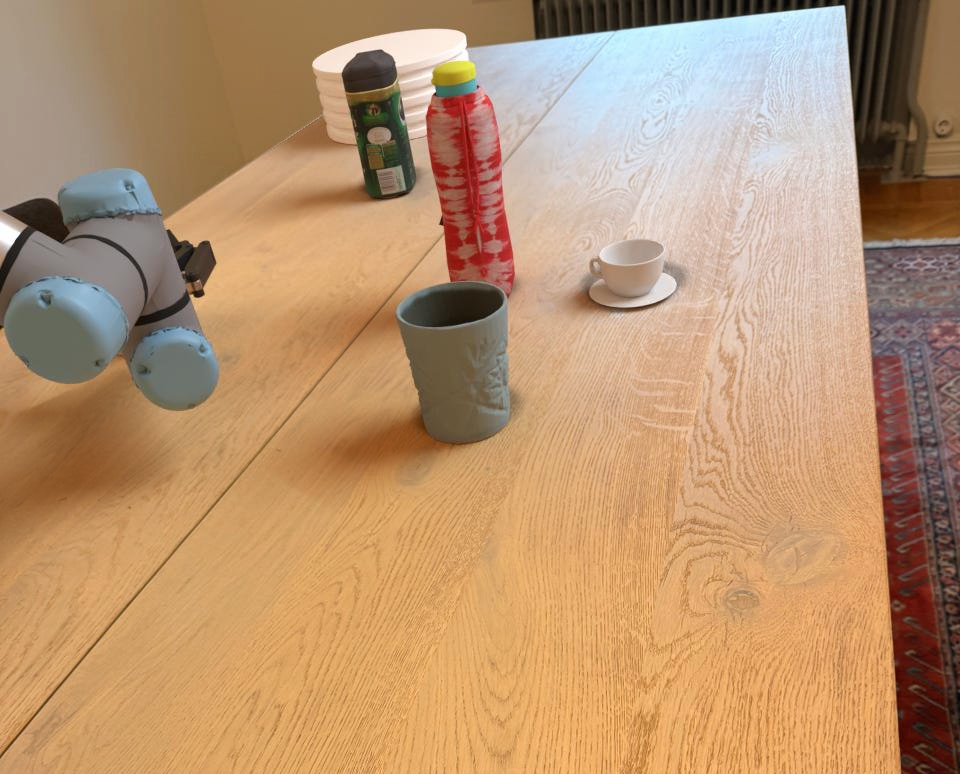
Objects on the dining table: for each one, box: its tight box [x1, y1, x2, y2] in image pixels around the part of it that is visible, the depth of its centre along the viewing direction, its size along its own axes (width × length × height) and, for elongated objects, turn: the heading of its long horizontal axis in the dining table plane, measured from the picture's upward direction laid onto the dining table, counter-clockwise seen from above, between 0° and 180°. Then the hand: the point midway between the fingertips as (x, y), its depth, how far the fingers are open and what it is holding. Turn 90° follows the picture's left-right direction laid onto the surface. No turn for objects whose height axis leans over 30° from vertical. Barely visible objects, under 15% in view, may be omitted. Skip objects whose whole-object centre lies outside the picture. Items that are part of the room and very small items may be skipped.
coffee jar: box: [342, 49, 417, 199], centre depth 141 cm, size 10×8×19 cm
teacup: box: [588, 238, 677, 308], centre depth 107 cm, size 10×10×5 cm
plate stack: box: [311, 28, 470, 146], centre depth 172 cm, size 28×28×12 cm
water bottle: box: [426, 60, 516, 300], centre depth 105 cm, size 12×8×25 cm, turn 5°
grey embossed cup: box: [395, 281, 511, 445], centre depth 89 cm, size 10×10×12 cm
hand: (113, 258), depth 109 cm, fingers open, 13 cm apart
